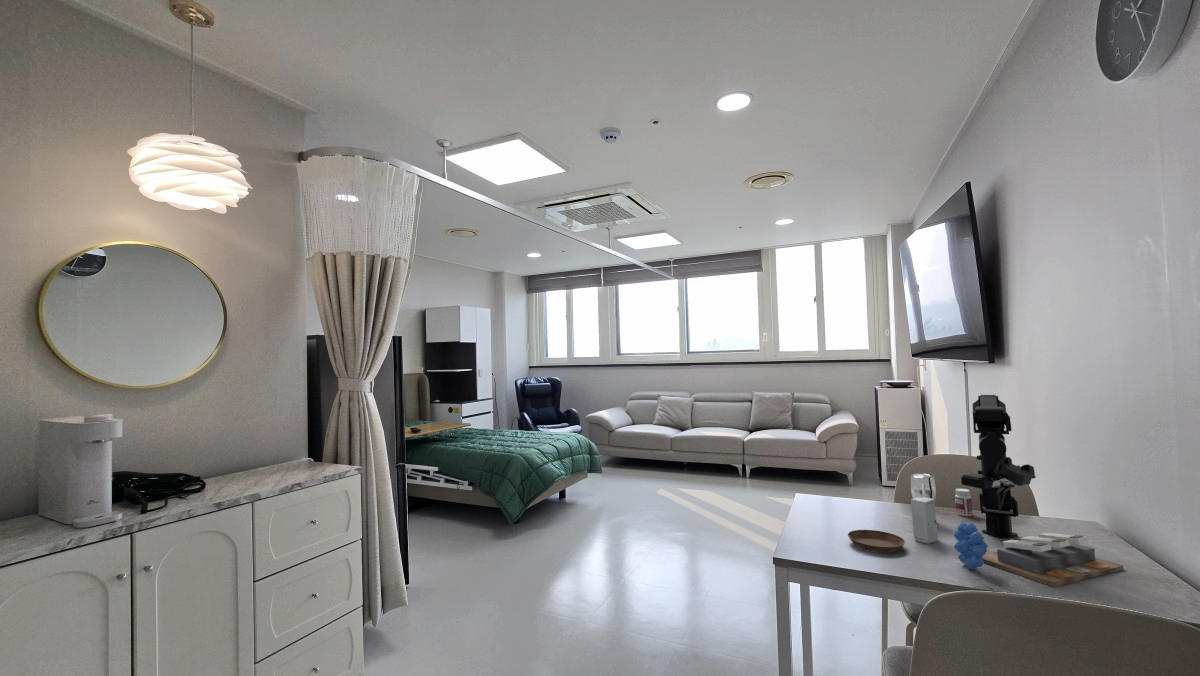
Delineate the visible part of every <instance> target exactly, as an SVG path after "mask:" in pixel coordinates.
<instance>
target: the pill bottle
mask: <svg viewBox="0 0 1200 676" xmlns="http://www.w3.org/2000/svg"><path fill="white" fill-rule="evenodd" d="M954 502H955V503H954V504H955V512H956V514H957V515H959V516H962V517H963V516H964V517H971V516H972V517H973V515H974V509H973V498H972V496H971V491H970V490H969V489H966V488H955V495H954Z"/></svg>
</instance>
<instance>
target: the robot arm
mask: <svg viewBox="0 0 1200 676" xmlns="http://www.w3.org/2000/svg"><path fill="white" fill-rule="evenodd" d="M977 397H978V398H977V400H975V401H974V402H973V403H972V420H973V421H972V425H973V433H974V434H979V435H978V449H979V455H976V460H979V461H980V467H981V469H979V470H977V473H965V474H963V475H962V476H960V484H961V486H967V487H972V488H976V489H980V490H981V492H979V494H978V495H979V505H980V507H979V508H980V513H981V514H985V527H986V528H985V529H982V530H981V533H984V534H987V533H988V534H987V535H992V536H995V537H997V538H1001V539H1006V538H1012V536H1013V537H1017V536H1016V535H1018V536H1019V534H1018V533H1017V532H1013V528H1012V527H1013V526H1012V525H1013V524H1012V517H1013V518H1016V517H1019V506H1018V505H1019V504H1018V501H1017V500H1016V498H1015V496H1014V495H1012V493H1011V492H1012V491H1011V489H1013V488H1015V487H1016V486H1018V487H1022V486H1024V485H1026V486H1029V485H1030V484H1031V481H1032V480H1033V479H1036V478H1037V476H1036V475H1035V473H1036V472H1035V468H1034V465H1033V466H1032V465H1030V464H1029V463H1027V464H1023V465H1016V464H1013V460H1012V458H1011V457H1010V456H1007V445H1006V439H1005V438H1006V437H1005V436H1004V435H1009V434H1010V432H1012V424H1011V416H1010V415H1009V413H1008V411H1007V407H1006V403H1004V402H1003V401H1001V400H1000V399H999V396H998V395H996V394H980V395H978V396H977ZM1011 482H1012V483H1013V484H1012V483H1011Z"/></svg>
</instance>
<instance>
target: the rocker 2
mask: <svg viewBox="0 0 1200 676" xmlns="http://www.w3.org/2000/svg"><path fill="white" fill-rule="evenodd" d="M1038 537H1042V538H1050V539H1063V540H1067V541H1069V543H1076V544H1080V545H1081V544H1084V543H1088V542H1089V539H1088V537H1087V536H1085V535H1077V534H1075V535H1072V534H1063V533H1054V532H1044V533H1039V534H1038Z"/></svg>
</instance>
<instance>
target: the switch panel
mask: <svg viewBox="0 0 1200 676" xmlns="http://www.w3.org/2000/svg"><path fill="white" fill-rule="evenodd" d="M1051 549H1052V550H1048V551H1043V552H1039V551H1032V550H1025V549H1018V548H1011V547H1000V548H997V549H996V551H993V552H988V553H987V552H986V553H985V555H984V556H982V558H983V559H984V560H985V562H984V564H986V565H990V566H992V565H993V566H992V567H994V568H998V569H1001V570H1003V571H1007V572H1009V573H1013V574H1014V575H1018V576H1022V577H1023V576H1024V578H1026V577H1027V579H1029V578H1030V580H1032V579H1033V581H1035V580H1036V581H1035V582H1038V581H1039V582H1038V583H1041V582H1042V583H1041V584H1043V585H1046V584H1047V586H1049V585H1050V587H1052V586H1053V588H1055V587H1059V586H1063V584H1064V585H1067V583H1068V584H1071V583H1076V582H1079V581H1083V580H1088V579H1091V578H1094V577H1095V578H1096V577H1101V576H1103V575H1107V574H1112V573H1115V572H1120V571H1124V570H1123V569H1124V565H1123V564H1119V563H1115V562H1112V561H1108V560H1105V559H1101V558H1098V557H1096V552H1095V548H1094V547H1090V546H1087V545H1083V544H1081V543H1080V544H1077V543H1070V546H1066V547H1062V548H1059V547H1051Z"/></svg>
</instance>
